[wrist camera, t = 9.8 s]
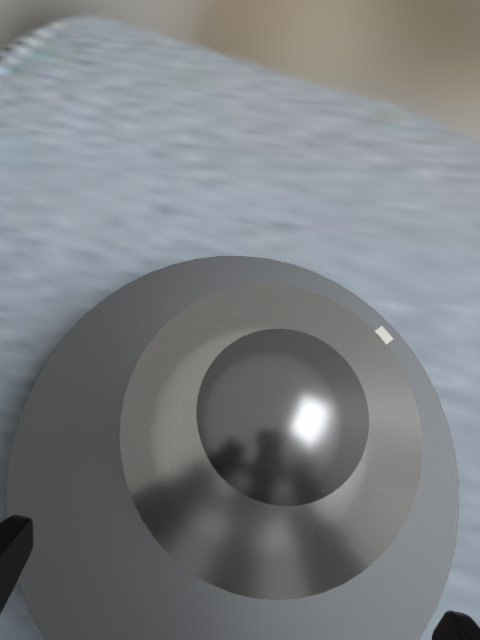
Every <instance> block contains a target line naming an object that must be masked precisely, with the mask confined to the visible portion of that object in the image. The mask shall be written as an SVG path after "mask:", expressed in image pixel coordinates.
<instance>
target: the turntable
mask: <svg viewBox="0 0 480 640" xmlns="http://www.w3.org/2000/svg"><path fill="white" fill-rule="evenodd" d="M253 284H276V285H286V286H292V287H296V288H301V289H305V290H308V291H311V292H314V293H317V294H320V295H322V296H324V297H327V298H329V299H331V300H333V301H335V302H337V303H339V304H340V305H342V306H344V307H345V308H347V309H348V310H350V311H352V312H353V313H354V314H356V315H357V316H358V317H359V318H361V319H362V320H363V321H364V322H366V323H367V324H368V325H369V326H370V327H371V328H372V329H373V330H374V331H375V332H376V333H377V334H378V335H379V336H380V337H381V338H382V340H383V341H384V342H385V343H386V345H387V346H388V347H389V348H390V350H391V351H392V353H393V354H394V356H395V357H396V359H397V360H398V362H399V364H400V365H401V367H402V369H403V371H404V373H405V375H406V377H407V379H408V381H409V383H410V386H411V389H412V392H413V394H414V397H415V400H416V403H417V408H418V412H419V417H420V421H421V430H422V440H423V450H422V467H421V474H420V480H419V485H418V489H417V492H416V495H415V499H414V502H413V505H412V507H411V509H410V512H409V514H408V516H407V518H406V521H405V523H404V525H403V526H402V528H401V529H400V531H399V533H398V534H397V536H396V537H395V539H394V540H393V542H392V543H391V544H390V545H389V547H388V548H387V549H386V550H385V551H384V552H383V554H382V555H381V556H380V557H379V558H378V559H377V560H376V561H375V562H374V563H372V564H371V565H370V566H369V567H368V568H367V569H365V570H364V571H363V572H362V573H360V574H359V575H357V576H356V577H354V578H352V579H351V580H349V581H348V582H346V583H344V584H342V585H340V586H338V587H335V588H333V589H331V590H328V591H326V592H324V593H320V594H316V595H312V596H308V597H304V598H299V599H287V600H268V599H255V598H250V597H246V596H242V595H238V594H234V593H230V592H228V591H226V590H223V589H221V588H218V587H216V586H213V585H211V584H209V583H207V582H206V581H204V580H202V579H201V578H199V577H197V576H196V575H194V574H192V573H191V572H189V571H188V570H187V569H185V568H184V567H183V566H182V565H181V564H179V563H178V562H177V561H176V560H175V559H173V558H172V557H171V556H170V555H169V554H168V553H167V552H166V550H165V549H164V548H163V547H162V546H161V545H160V544H159V543H158V542H157V541H156V539H155V538H154V536H153V535H152V533H151V532H150V531H149V529H148V528H147V526H146V525H145V523H144V522H143V520H142V518H141V516H140V514H139V512H138V510H137V508H136V506H135V504H134V502H133V500H132V497H131V494H130V491H129V488H128V485H127V482H126V479H125V475H124V470H123V465H122V460H121V450H120V422H121V412H122V407H123V402H124V397H125V393H126V390H127V387H128V384H129V381H130V378H131V375H132V373H133V371H134V369H135V367H136V365H137V363H138V360H139V358H140V357H141V355H142V354H143V352H144V351H145V349H146V347H147V346H148V344H149V343H150V341H151V340H152V339H153V338H154V337H155V336H156V334H157V333H158V332H159V331H160V330H161V328H162V327H164V326H165V325H166V324H167V323H168V322H169V321H170V320H171V319H172V318H173V317H174V316H176V315H177V314H178V313H180V312H181V311H183V310H184V309H185V308H187V307H188V306H190V305H191V304H193V303H195V302H197V301H199V300H201V299H202V298H204V297H207V296H209V295H212V294H214V293H217V292H219V291H222V290H226V289H230V288H234V287H238V286H245V285H253ZM6 514H7V518H8V517H9V516H12V515H21V516H25V517H29V518H31V519H32V520H33V549H32V552H31V554H30V556H29V559H28V561H27V562H26V564H25V566H24V568H23V570H22V572H21V574H20V576H19V578H18V582H19V584H20V587H21V589H22V592H23V595H24V597H25V600H26V603H27V605H28V608H29V611H30V613H31V614H32V616H33V618H34V620H35V622H36V623H37V625H38V627H39V629H40V631H41V632H42V634H43V636H44V638H45V640H419V639H420V637H421V636H422V634H423V632H424V630H425V628H426V626H427V625H428V623H429V621H430V619H431V617H432V615H433V614H434V612H435V610H436V607H437V605H438V602H439V600H440V597H441V594H442V592H443V589H444V586H445V584H446V581H447V579H448V575H449V571H450V566H451V562H452V558H453V554H454V550H455V546H456V537H457V527H458V518H459V480H458V472H457V465H456V457H455V450H454V446H453V442H452V438H451V434H450V430H449V426H448V422H447V419H446V417H445V414H444V411H443V409H442V406H441V403H440V401H439V398H438V395H437V393H436V391H435V389H434V388H433V386H432V384H431V382H430V380H429V378H428V376H427V374H426V372H425V370H424V368H423V367H422V365H421V364H420V362H419V361H418V359H417V358H416V356H415V355H414V353H413V352H412V350H411V349H410V347H409V346H408V345H407V344H406V342H405V341H404V340H403V339H402V338H401V336H400V335H399V334H398V333H397V331H396V330H395V329H394V328H393V327H392V326H391V325H390V324H389V323H388V322H387V321H386V320H385V319H384V318H383V317H382V316H381V315H380V314H379V313H378V312H377V311H376V310H375V309H373V308H372V307H371V306H369V305H368V304H367V303H366V302H364V301H363V300H362V299H360V298H359V297H358V296H357V295H355V294H354V293H352V292H350V291H349V290H347V289H345V288H344V287H342V286H341V285H339V284H337V283H336V282H334V281H332V280H330V279H328V278H325V277H323V276H321V275H319V274H317V273H315V272H313V271H310V270H307V269H304V268H301V267H298V266H295V265H292V264H289V263H284V262H280V261H275V260H271V259H265V258H256V257H247V256H219V257H210V258H202V259H195V260H191V261H187V262H182V263H178V264H174V265H171V266H168V267H165V268H163V269H160V270H157V271H154V272H151V273H149V274H147V275H145V276H143V277H141V278H139V279H137V280H135V281H133V282H131V283H129V284H127V285H125V286H124V287H122V288H121V289H119V290H118V291H116V292H115V293H113V294H112V295H110V296H108V297H107V298H105V299H104V300H103V301H102V302H101V303H99V304H98V305H97V306H96V307H95V308H93V309H92V310H91V311H90V312H89V313H87V314H86V315H85V316H84V317H83V318H82V319H81V320H80V321H79V322H78V323H77V324H76V325H75V326H74V327H73V328H72V330H71V331H70V332H69V333H68V334H67V335H66V336H65V337H64V339H63V340H62V341H61V343H60V344H59V345H58V347H57V348H56V349H55V351H54V352H53V353H52V354H51V356H50V357H49V359H48V360H47V362H46V364H45V365H44V367H43V369H42V371H41V372H40V374H39V376H38V377H37V379H36V381H35V383H34V385H33V387H32V389H31V391H30V394H29V396H28V398H27V401H26V403H25V405H24V407H23V410H22V412H21V416H20V419H19V422H18V426H17V429H16V433H15V436H14V439H13V443H12V449H11V455H10V461H9V467H8V473H7V494H6Z"/></svg>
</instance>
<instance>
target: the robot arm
mask: <svg viewBox="0 0 480 640" xmlns="http://www.w3.org/2000/svg"><path fill="white" fill-rule="evenodd" d="M32 549H33V520H32V519H31V518H29V517H25V516H21V515H12V516H9V517H8V518H6V519H5V520H3V521H2V522H0V614H1V612H2V610H3V608H4V606H5V604H6V602H7V600H8V598H9V596H10V594H11V592H12V590H13V588H14V586H15V584H16V582H17V580H18V578H19V576H20V574H21V572H22V570H23V568H24V566H25V564H26V562H27V561H28V559H29V556H30V554H31V552H32ZM432 640H480V628H479V627H478V625H477V624H476V623H475V622H474V620H473V619H472V618H471V617H469V616H468V615H466V614H464V613H459V612H455V611H447V612H446V613H445V614H444V615H443V617H442V619H441V620H440V622H439V623H438V625H437V627H436V628H435V630H434V632H433V635H432Z"/></svg>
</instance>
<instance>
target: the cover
mask: <svg viewBox="0 0 480 640" xmlns="http://www.w3.org/2000/svg"><path fill="white" fill-rule="evenodd" d="M120 450H121V460H122V465H123V470H124V475H125V479H126V482H127V485H128V488H129V491H130V494H131V497H132V500H133V502H134V504H135V506H136V508H137V510H138V512H139V514H140V516H141V518H142V520H143V522H144V523H145V525H146V526H147V528H148V529H149V531H150V532H151V533H152V535H153V536H154V538H155V539H156V541H157V542H158V543H159V544H160V545H161V546H162V547H163V548H164V549H165V550H166V552H167V553H168V554H169V555H170V556H171V557H172V558H173V559H175V560H176V561H177V562H178V563H179V564H181V565H182V566H183V567H184V568H185V569H187V570H188V571H189V572H191V573H192V574H194V575H196V576H197V577H199V578H201V579H202V580H204V581H206V582H207V583H209V584H211V585H213V586H216V587H218V588H221V589H223V590H226V591H228V592H230V593H234V594H238V595H242V596H246V597H250V598H255V599H268V600H287V599H299V598H304V597H308V596H312V595H316V594H320V593H324V592H326V591H328V590H331V589H333V588H335V587H338V586H340V585H342V584H344V583H346V582H348V581H349V580H351V579H352V578H354V577H356V576H357V575H359V574H360V573H362V572H363V571H364V570H365V569H367V568H368V567H369V566H370V565H371V564H372V563H374V562H375V561H376V560H377V559H378V558H379V557H380V556H381V555H382V554H383V552H384V551H385V550H386V549H387V548H388V547H389V545H390V544H391V543H392V542H393V540H394V539H395V537H396V536H397V534H398V533H399V531H400V529H401V528H402V526H403V525H404V523H405V521H406V518H407V516H408V514H409V512H410V509H411V507H412V505H413V502H414V499H415V495H416V492H417V489H418V485H419V480H420V474H421V467H422V450H423V440H422V430H421V421H420V417H419V412H418V408H417V403H416V400H415V397H414V394H413V392H412V389H411V386H410V383H409V381H408V379H407V377H406V375H405V373H404V371H403V369H402V367H401V365H400V364H399V362H398V360H397V359H396V357H395V356H394V354H393V353H392V351H391V350H390V348H389V347H388V346H387V345H386V343H385V342H384V341H383V340H382V338H381V337H380V336H379V335H378V334H377V333H376V332H375V331H374V330H373V329H372V328H371V327H370V326H369V325H368V324H367V323H366V322H364V321H363V320H362V319H361V318H359V317H358V316H357V315H356V314H354V313H353V312H352V311H350V310H348V309H347V308H345V307H344V306H342V305H340V304H339V303H337V302H335V301H333V300H331V299H329V298H327V297H324V296H322V295H320V294H317V293H314V292H311V291H308V290H305V289H301V288H296V287H292V286H286V285H276V284H253V285H245V286H238V287H234V288H230V289H226V290H222V291H219V292H217V293H214V294H212V295H209V296H207V297H204V298H202V299H201V300H199V301H197V302H195V303H193V304H191V305H190V306H188V307H187V308H185V309H184V310H183V311H181V312H180V313H178V314H177V315H176V316H174V317H173V318H172V319H171V320H170V321H169V322H168V323H167V324H166V325H165V326H164V327H162V328H161V330H160V331H159V332H158V333H157V334H156V336H155V337H154V338H153V339H152V340H151V341H150V343H149V344H148V346H147V347H146V349H145V351H144V352H143V354H142V355H141V357H140V358H139V360H138V363H137V365H136V367H135V369H134V371H133V373H132V375H131V378H130V381H129V384H128V387H127V390H126V393H125V397H124V402H123V407H122V412H121V422H120Z"/></svg>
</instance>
